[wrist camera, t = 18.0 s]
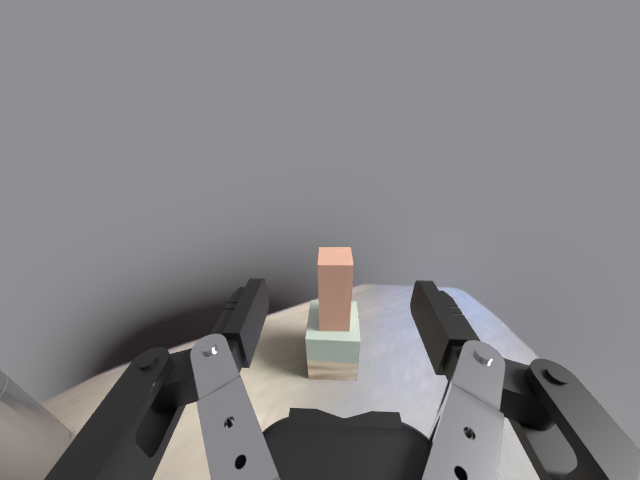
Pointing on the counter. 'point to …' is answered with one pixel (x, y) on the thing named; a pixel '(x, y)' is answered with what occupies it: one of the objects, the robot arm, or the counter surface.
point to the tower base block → (332, 370)
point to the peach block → (335, 288)
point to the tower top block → (332, 339)
